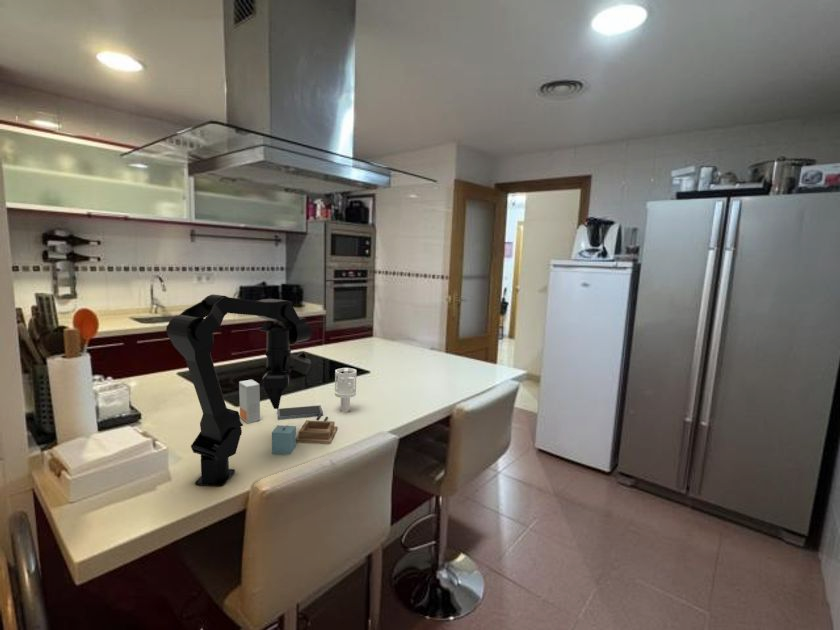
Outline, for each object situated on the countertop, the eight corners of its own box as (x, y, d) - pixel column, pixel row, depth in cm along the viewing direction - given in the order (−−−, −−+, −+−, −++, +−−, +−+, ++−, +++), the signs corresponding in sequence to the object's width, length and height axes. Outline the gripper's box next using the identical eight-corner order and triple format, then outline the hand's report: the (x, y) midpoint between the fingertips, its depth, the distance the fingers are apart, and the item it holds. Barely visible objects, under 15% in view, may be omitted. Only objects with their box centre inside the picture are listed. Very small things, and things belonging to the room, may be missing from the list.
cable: (323, 426, 126) (323, 424, 126) (312, 425, 126) (312, 423, 126) (331, 412, 137) (331, 410, 137) (321, 412, 137) (321, 410, 137)
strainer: (334, 414, 136) (335, 370, 134) (334, 406, 143) (335, 364, 140) (356, 413, 137) (357, 370, 135) (355, 405, 144) (356, 364, 142)
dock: (330, 444, 115) (330, 434, 114) (294, 442, 115) (294, 433, 114) (337, 429, 125) (337, 420, 124) (304, 427, 125) (304, 418, 124)
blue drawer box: (290, 454, 108) (290, 432, 107) (271, 453, 108) (271, 432, 107) (295, 446, 112) (295, 425, 112) (277, 446, 112) (277, 425, 111)
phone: (322, 415, 134) (322, 412, 134) (277, 419, 129) (277, 416, 129) (320, 408, 141) (320, 404, 140) (277, 411, 136) (277, 408, 136)
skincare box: (239, 417, 130) (238, 381, 128) (252, 414, 132) (252, 378, 131) (247, 424, 125) (246, 386, 123) (260, 420, 128) (260, 383, 126)
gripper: (309, 354, 102) (308, 414, 104) (309, 339, 120) (308, 390, 122) (261, 354, 99) (261, 416, 101) (269, 339, 117) (268, 392, 119)
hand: (277, 402), depth 111 cm, fingers open, 9 cm apart
